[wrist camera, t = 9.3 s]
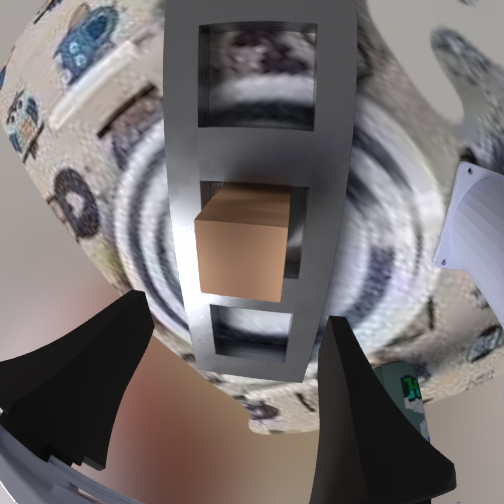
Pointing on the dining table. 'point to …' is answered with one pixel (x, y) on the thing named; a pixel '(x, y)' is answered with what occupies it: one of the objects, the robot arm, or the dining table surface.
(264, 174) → the grey flat perforated plate
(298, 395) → the dining table surface
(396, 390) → the can
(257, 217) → the square block
